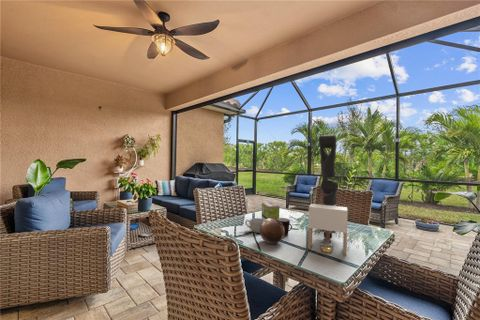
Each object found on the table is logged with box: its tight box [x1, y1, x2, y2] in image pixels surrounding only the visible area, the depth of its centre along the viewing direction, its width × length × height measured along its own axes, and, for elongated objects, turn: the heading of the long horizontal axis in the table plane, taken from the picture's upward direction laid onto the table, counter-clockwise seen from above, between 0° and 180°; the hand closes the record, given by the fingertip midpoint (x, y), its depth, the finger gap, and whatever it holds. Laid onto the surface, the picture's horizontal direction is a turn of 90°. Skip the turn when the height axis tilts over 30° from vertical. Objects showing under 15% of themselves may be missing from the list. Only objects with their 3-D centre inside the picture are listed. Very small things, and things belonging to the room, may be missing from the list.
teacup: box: [244, 217, 264, 234], centre depth 160 cm, size 14×11×8 cm
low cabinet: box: [307, 203, 348, 256], centre depth 131 cm, size 10×20×24 cm, turn 67°
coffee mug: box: [278, 217, 293, 237], centre depth 153 cm, size 12×9×10 cm
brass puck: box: [320, 246, 334, 254], centre depth 128 cm, size 6×6×2 cm
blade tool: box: [319, 230, 335, 250], centre depth 141 cm, size 22×7×6 cm, turn 157°
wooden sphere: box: [259, 218, 285, 245], centre depth 138 cm, size 15×15×15 cm
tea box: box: [261, 201, 280, 220], centre depth 184 cm, size 15×10×15 cm
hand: (327, 238), depth 147 cm, fingers closed on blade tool, 2 cm apart
